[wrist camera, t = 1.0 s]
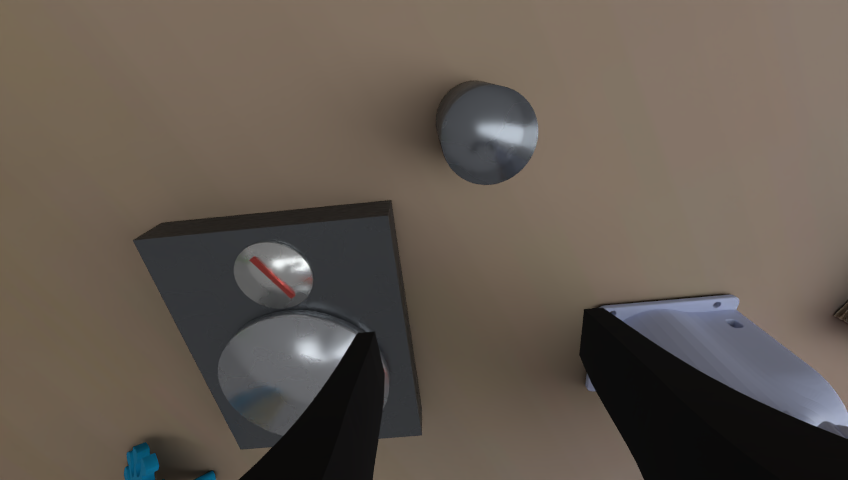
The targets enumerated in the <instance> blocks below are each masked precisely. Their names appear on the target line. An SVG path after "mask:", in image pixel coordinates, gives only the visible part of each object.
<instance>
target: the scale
mask: <svg viewBox="0 0 848 480" xmlns="http://www.w3.org/2000/svg"><path fill="white" fill-rule="evenodd" d="M133 242H134V243H135V245H136V247H137V249H138V251H139V253H140V255H141V257H142V259H143V261H144V263H145V265H146V267H147V269H148V271H149V273H150V274H151V276H152V278H153V280H154V282H155V284H156V286H157V288H158V290H159V292H160V294H161V296H162V298H163V300H164V302H165V304H166V306H167V307H168V309H169V311H170V313H171V315H172V317H173V319H174V321H175V323H176V325H177V327H178V329H179V331H180V333H181V335H182V337H183V339H184V340H185V342H186V344H187V346H188V348H189V350H190V352H191V354H192V356H193V358H194V360H195V362H196V364H197V366H198V368H199V370H200V371H201V373H202V375H203V377H204V379H205V381H206V383H207V385H208V387H209V389H210V391H211V393H212V395H213V397H214V399H215V401H216V403H217V404H218V406H219V408H220V410H221V412H222V414H223V416H224V418H225V420H226V422H227V424H228V426H229V428H230V430H231V432H232V434H233V436H234V437H235V439H236V441H237V443H238V445H239V447H240V449H253V448H265V447H273V446H274V445H275V444H276V443H277V442H278V441H279V440H280V439H281V438H282V436H283V435H284V434H285V433H286V432H287V431H288V430H289V429H290V428H291V426H292V425H293V424H294V423H295V422H296V421H297V420H298V418H299V417H300V416H301V415H302V413H303V412H304V411H305V410H306V408H307V407H308V406H309V405H310V403H311V402H312V401H313V399H314V398H315V397H316V395H317V394H318V393H319V391H320V390H321V389H322V387H323V386H324V384H325V383H326V382H327V380H328V379H329V377H330V376H331V374H332V373H333V371H334V370H335V368H336V367H337V365H338V364H339V362H340V360H341V359H342V357H343V356H344V354H345V352H346V351H347V349H348V347H349V346H350V344H351V342H352V341H353V339H354V337H355V336H356V335H357V333H363V332H373V331H375V333H376V338H377V342H378V346H379V351H380V355H381V359H382V364H383V368H384V373H385V385H384V405H383V412H382V418H381V425H380V432H379V438H378V439H380V438H393V437H406V436H419V435H422V406H421V400H420V393H419V386H418V379H417V372H416V366H415V359H414V352H413V345H412V339H411V332H410V325H409V318H408V311H407V305H406V298H405V291H404V284H403V277H402V271H401V264H400V257H399V250H398V243H397V237H396V230H395V223H394V216H393V209H392V203H391V200H389V201H379V202H368V203H358V204H348V205H338V206H328V207H318V208H307V209H297V210H287V211H277V212H267V213H257V214H247V215H236V216H226V217H216V218H206V219H196V220H186V221H175V222H165V223H161V224H159V225H157V226H156V227H154V228H152V229H151V230H149V231H147V232H146V233H144V234H143V235H141V236H139V237H138V238H136V239H134V240H133Z"/></svg>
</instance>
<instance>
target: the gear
mask: <svg viewBox="0 0 848 480" xmlns="http://www.w3.org/2000/svg"><path fill="white" fill-rule="evenodd" d="M127 461H128V465H129V466H127V467H125V470H124V477H125V480H155V475H154V472H155V471H157V470H158V469H159V463H158V459H157V456H156V454H155V453H153V454H151V455H150V448H149V446H148V444H147V443H146V442H145V443H142V444H139V445H137V446H134V447H133V450H132V451H129V452H127ZM162 480H165V479H162ZM194 480H216V478H215V474H214V472H213V471H210V472H208V473H206V474H204V475H202V476H200V477H198V478H196V479H194Z"/></svg>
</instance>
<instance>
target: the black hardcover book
mask: <svg viewBox="0 0 848 480" xmlns="http://www.w3.org/2000/svg"><path fill="white" fill-rule="evenodd" d="M834 316H836V317H838V318H839V319H841V320H844V321H845V322H846V323H847V324H848V302H847V303H846V304H845V305H844V306H843V307H842V308H841V309H840V310H839V311H838V312H837V313H836V314H835V315H834Z"/></svg>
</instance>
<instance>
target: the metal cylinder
mask: <svg viewBox="0 0 848 480" xmlns="http://www.w3.org/2000/svg"><path fill="white" fill-rule="evenodd" d="M436 129H437V133H438V137H439V140H440V144H441V147H442V150H443V154H444V157H445V159H446V161H447V163H448V164H449V166H450V167H451V169H452V170H453V171H454V172H455V173H456V174H457V175H458V176H460V177H461V178H463V179H465V180H466V181H469V182H472V183H475V184H481V185H491V184H497V183H500V182H503V181H505V180H508V179H509V178H511V177H513V176H514V175H516V174H517V173H518V172H519V171H521V170H522V169H523V168H524V166H525V165H526V164H527V163H528V161H529V160H530V158H531V156H532V154H533V152H534V150H535V147H536V144H537V139H538V123H537V118H536V115H535V112H534V110H533V108H532V107H531V105H530V103H529V102H528V101H527V100H526V99H525V98H524V97H523V96H522V95H521V94H520V93H518V92H516V91H515V90H512V89H510V88H507V87H503V86H499V85H495V84H491V83H487V82H482V81H468V82H464V83H461V84H459V85H457V86H455V87H454V88H452V89H451V90H450V91H449V92H448V93H447V94H446V95H445V96H444V98H443V99H442V101H441V103H440V105H439V107H438V110H437V114H436Z"/></svg>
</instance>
